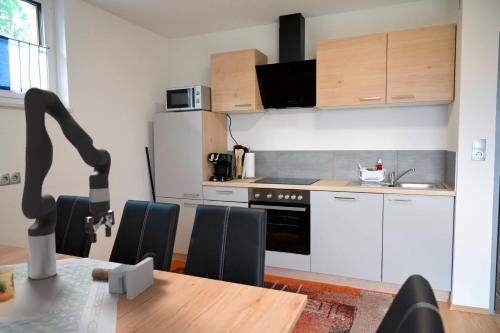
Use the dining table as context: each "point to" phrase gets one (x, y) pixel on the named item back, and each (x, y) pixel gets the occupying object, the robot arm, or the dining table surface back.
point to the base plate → (139, 278)
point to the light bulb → (151, 255)
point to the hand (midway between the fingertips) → (101, 239)
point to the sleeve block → (118, 279)
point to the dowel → (100, 273)
